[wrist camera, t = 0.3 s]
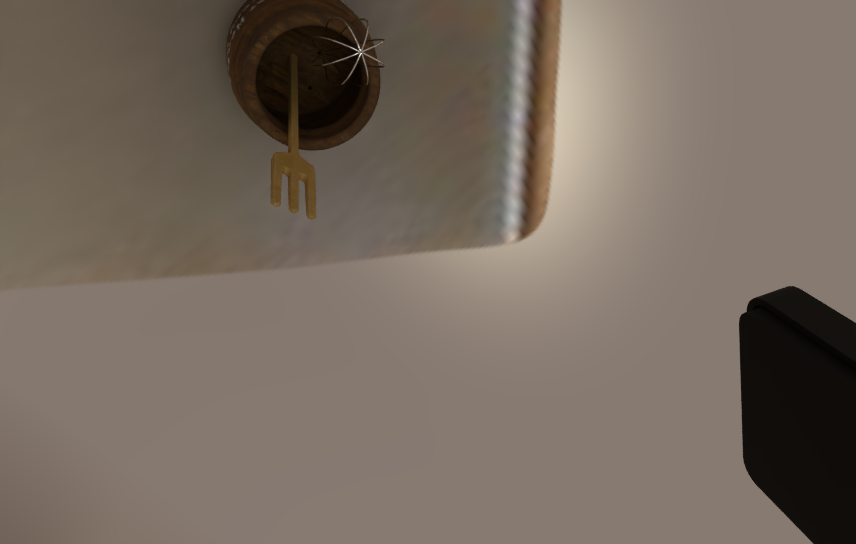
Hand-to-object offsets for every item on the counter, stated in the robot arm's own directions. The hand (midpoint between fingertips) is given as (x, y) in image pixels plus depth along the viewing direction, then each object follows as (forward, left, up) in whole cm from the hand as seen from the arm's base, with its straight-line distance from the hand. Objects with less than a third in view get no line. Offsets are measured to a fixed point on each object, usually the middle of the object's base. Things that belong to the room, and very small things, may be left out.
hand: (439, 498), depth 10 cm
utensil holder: (-1, +1, -27) cm, 27 cm away
